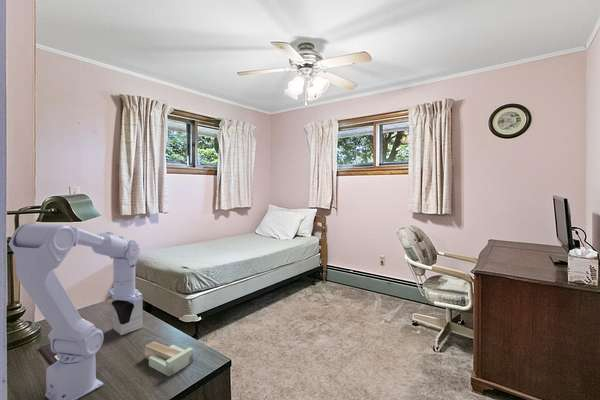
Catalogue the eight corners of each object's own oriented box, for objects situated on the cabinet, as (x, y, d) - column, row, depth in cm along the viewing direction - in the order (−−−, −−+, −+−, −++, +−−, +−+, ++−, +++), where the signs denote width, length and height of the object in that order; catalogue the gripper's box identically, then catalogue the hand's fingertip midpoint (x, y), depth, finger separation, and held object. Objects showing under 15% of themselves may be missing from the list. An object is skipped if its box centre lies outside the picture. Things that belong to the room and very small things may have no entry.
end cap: (169, 376, 80) (169, 362, 80) (148, 365, 85) (148, 352, 84) (193, 361, 87) (193, 348, 87) (173, 352, 92) (173, 339, 91)
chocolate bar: (74, 335, 98) (96, 355, 88) (74, 338, 98) (96, 358, 88) (39, 347, 91) (58, 370, 81) (39, 350, 91) (58, 374, 81)
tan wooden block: (173, 371, 83) (173, 357, 83) (144, 358, 88) (144, 345, 88) (181, 365, 86) (181, 351, 86) (153, 353, 91) (153, 341, 91)
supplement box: (134, 321, 110) (134, 288, 110) (143, 328, 106) (143, 293, 105) (112, 328, 105) (111, 293, 104) (120, 336, 100) (120, 299, 99)
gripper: (151, 280, 89) (151, 323, 90) (124, 271, 96) (124, 312, 97) (128, 287, 83) (128, 333, 84) (100, 277, 90) (101, 320, 91)
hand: (124, 322), depth 90 cm, fingers closed
